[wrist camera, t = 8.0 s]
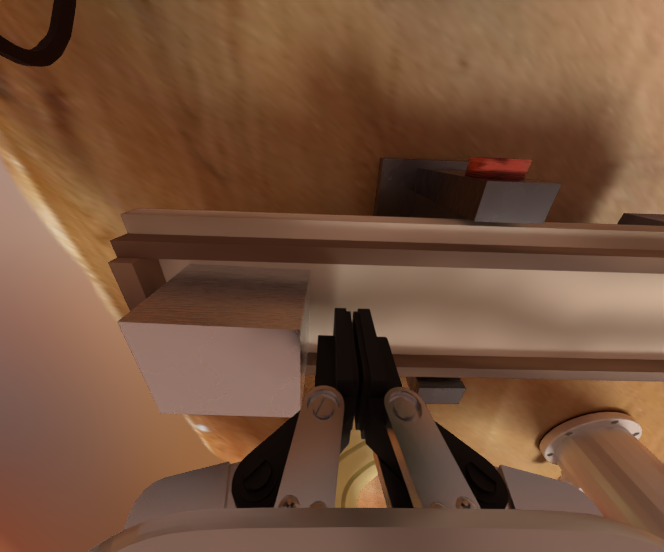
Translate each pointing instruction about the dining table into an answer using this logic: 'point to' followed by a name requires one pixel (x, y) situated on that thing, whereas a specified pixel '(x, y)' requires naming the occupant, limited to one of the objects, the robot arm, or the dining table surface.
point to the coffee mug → (45, 39)
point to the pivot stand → (460, 212)
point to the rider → (224, 341)
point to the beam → (441, 285)
